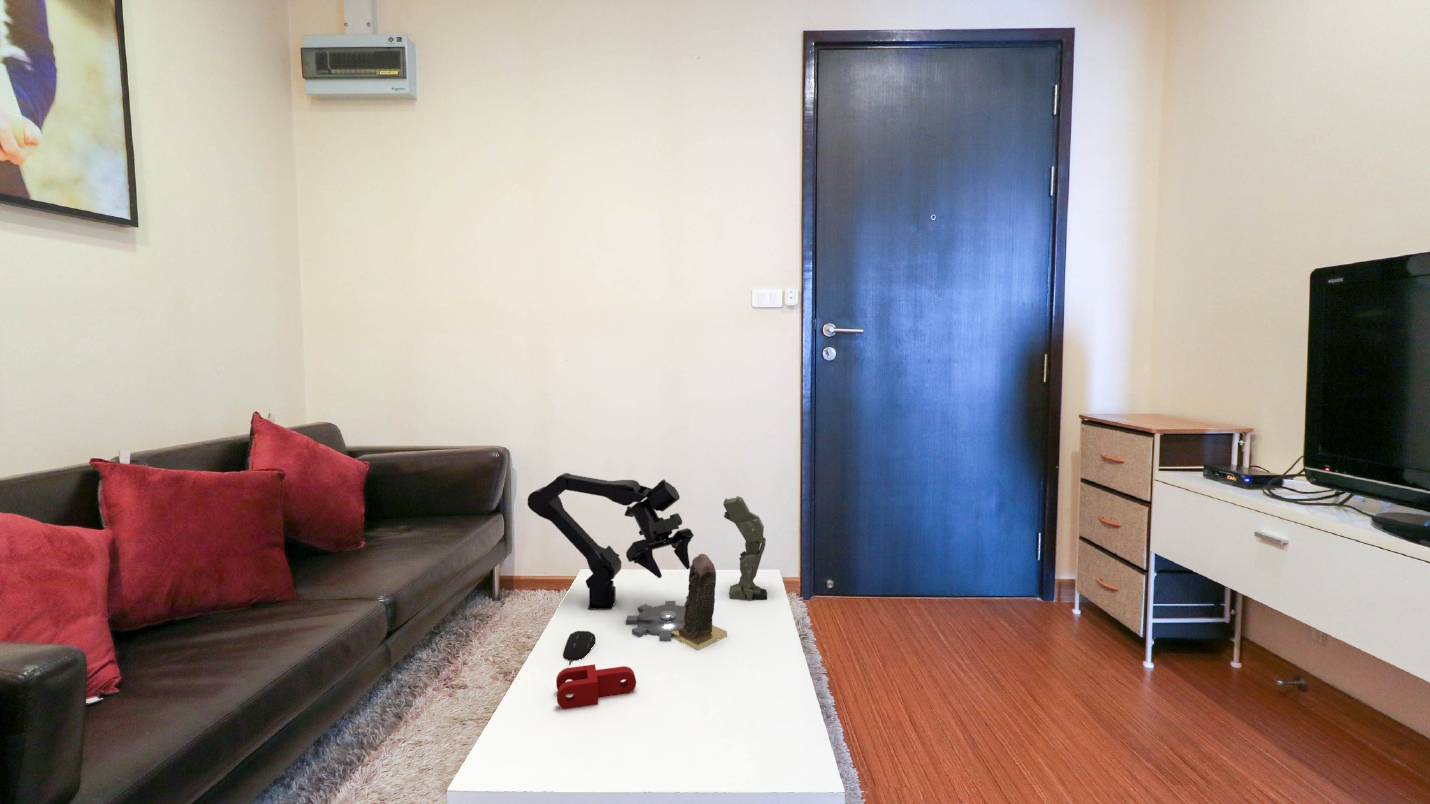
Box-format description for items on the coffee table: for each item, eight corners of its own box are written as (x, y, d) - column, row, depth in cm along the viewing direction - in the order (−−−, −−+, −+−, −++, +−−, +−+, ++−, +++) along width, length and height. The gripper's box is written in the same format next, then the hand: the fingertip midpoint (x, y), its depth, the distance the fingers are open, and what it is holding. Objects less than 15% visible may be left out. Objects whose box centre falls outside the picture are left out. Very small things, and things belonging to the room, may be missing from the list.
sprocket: (609, 622, 164) (609, 614, 164) (671, 598, 179) (671, 591, 179) (679, 658, 145) (679, 649, 145) (742, 628, 161) (742, 620, 160)
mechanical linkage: (557, 711, 125) (556, 687, 125) (556, 692, 132) (556, 669, 131) (637, 699, 129) (637, 676, 129) (633, 681, 136) (632, 659, 136)
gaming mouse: (554, 668, 142) (553, 651, 141) (573, 637, 157) (573, 622, 156) (581, 669, 141) (581, 652, 141) (598, 638, 156) (598, 623, 156)
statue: (696, 624, 160) (696, 547, 158) (717, 633, 155) (717, 554, 153) (677, 633, 155) (676, 554, 153) (698, 643, 150) (697, 561, 148)
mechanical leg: (779, 589, 184) (755, 489, 182) (779, 599, 177) (754, 495, 175) (733, 598, 186) (709, 500, 184) (731, 608, 178) (706, 506, 176)
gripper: (631, 511, 158) (659, 565, 151) (689, 498, 171) (717, 548, 164) (614, 534, 165) (640, 588, 158) (671, 521, 177) (697, 570, 170)
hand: (674, 572), depth 162 cm, fingers open, 9 cm apart
